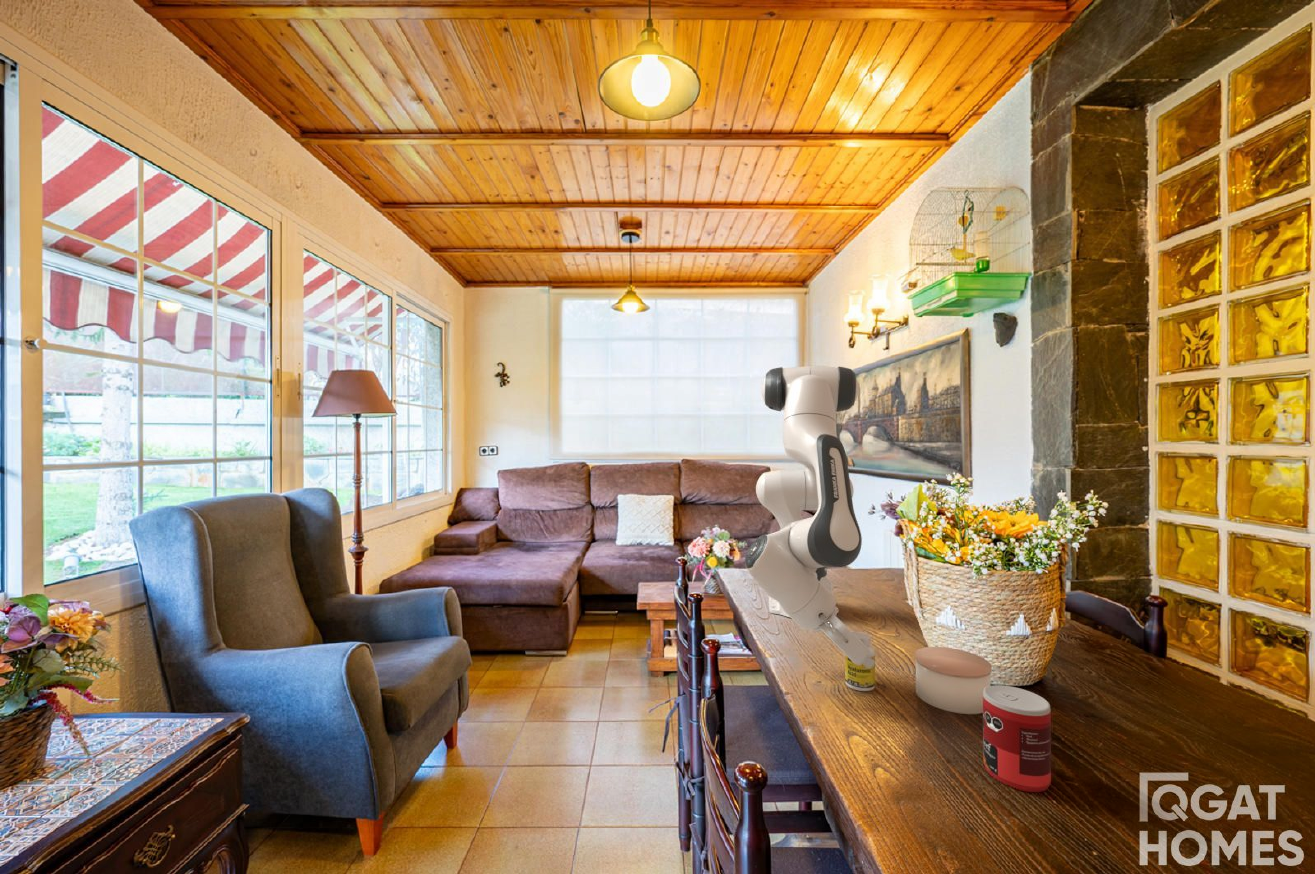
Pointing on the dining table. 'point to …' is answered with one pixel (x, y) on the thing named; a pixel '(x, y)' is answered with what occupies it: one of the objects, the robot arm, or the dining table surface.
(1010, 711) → the canned food
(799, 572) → the robot arm
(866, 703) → the dining table surface
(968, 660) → the ceramic canister
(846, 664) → the supplement bottle
